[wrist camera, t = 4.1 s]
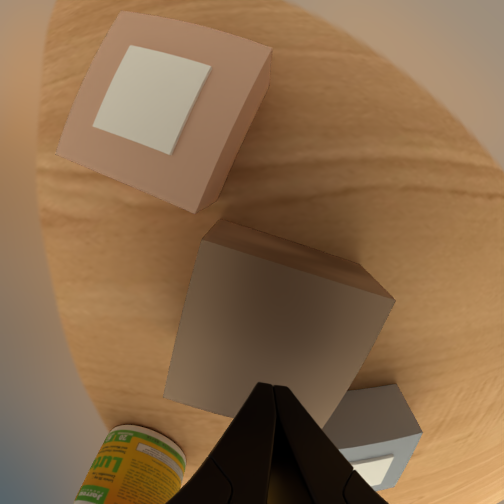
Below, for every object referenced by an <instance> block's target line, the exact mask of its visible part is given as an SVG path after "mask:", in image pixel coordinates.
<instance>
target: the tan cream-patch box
mask: <svg viewBox="0 0 504 504" xmlns="http://www.w3.org/2000/svg"><path fill="white" fill-rule="evenodd" d="M271 60H272V48H271V47H269V46H266V45H263V44H260V43H258V42H255V41H252V40H249V39H246V38H243V37H240V36H237V35H233V34H230V33H227V32H224V31H220V30H217V29H213V28H209V27H205V26H202V25H198V24H194V23H189V22H185V21H180V20H176V19H171V18H166V17H160V16H155V15H149V14H143V13H136V12H128V11H120V13H119V14H118V16H117V18H116V19H115V21H114V23H113V24H112V26H111V28H110V29H109V31H108V33H107V35H106V36H105V38H104V40H103V42H102V44H101V46H100V47H99V49H98V51H97V53H96V55H95V57H94V59H93V61H92V63H91V65H90V67H89V69H88V71H87V73H86V75H85V78H84V80H83V82H82V84H81V87H80V89H79V91H78V93H77V96H76V98H75V101H74V103H73V105H72V108H71V111H70V113H69V116H68V118H67V121H66V124H65V126H64V129H63V132H62V135H61V138H60V141H59V144H58V147H57V150H56V153H55V155H58V156H60V157H63V158H65V159H67V160H70V161H72V162H74V163H77V164H79V165H82V166H84V167H86V168H89V169H91V170H93V171H96V172H98V173H100V174H103V175H105V176H108V177H110V178H112V179H115V180H117V181H119V182H122V183H124V184H126V185H129V186H131V187H133V188H136V189H138V190H140V191H143V192H145V193H147V194H150V195H152V196H154V197H157V198H159V199H161V200H163V201H166V202H168V203H170V204H173V205H175V206H177V207H180V208H182V209H184V210H187V211H189V212H191V213H193V214H196V213H198V212H199V211H201V210H202V209H204V208H206V207H207V206H209V205H211V204H212V203H214V202H216V201H217V199H218V196H219V194H220V192H221V189H222V187H223V185H224V182H225V180H226V178H227V176H228V173H229V171H230V169H231V167H232V164H233V162H234V160H235V158H236V155H237V153H238V151H239V149H240V147H241V145H242V142H243V140H244V138H245V136H246V134H247V132H248V129H249V127H250V125H251V123H252V121H253V119H254V117H255V115H256V113H257V110H258V108H259V106H260V104H261V102H262V100H263V98H264V96H265V94H266V92H267V90H268V88H269V85H270V72H271Z"/></svg>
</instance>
